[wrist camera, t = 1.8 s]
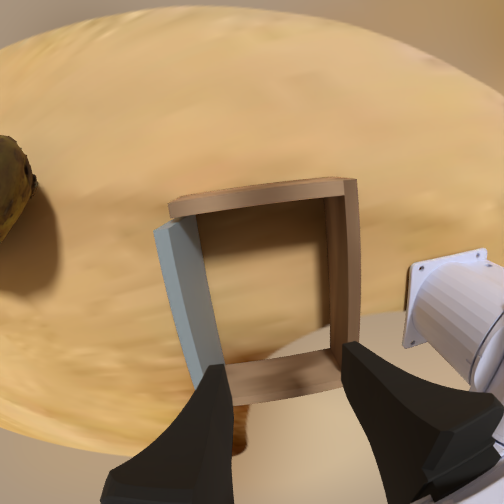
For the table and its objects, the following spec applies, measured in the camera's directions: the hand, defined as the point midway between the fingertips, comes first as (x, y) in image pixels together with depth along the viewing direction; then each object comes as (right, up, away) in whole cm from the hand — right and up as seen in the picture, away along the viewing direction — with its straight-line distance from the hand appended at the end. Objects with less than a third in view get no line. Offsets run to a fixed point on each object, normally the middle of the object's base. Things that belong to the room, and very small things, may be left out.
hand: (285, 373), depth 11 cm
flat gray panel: (-5, +2, +9) cm, 10 cm away
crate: (0, +3, +9) cm, 9 cm away
